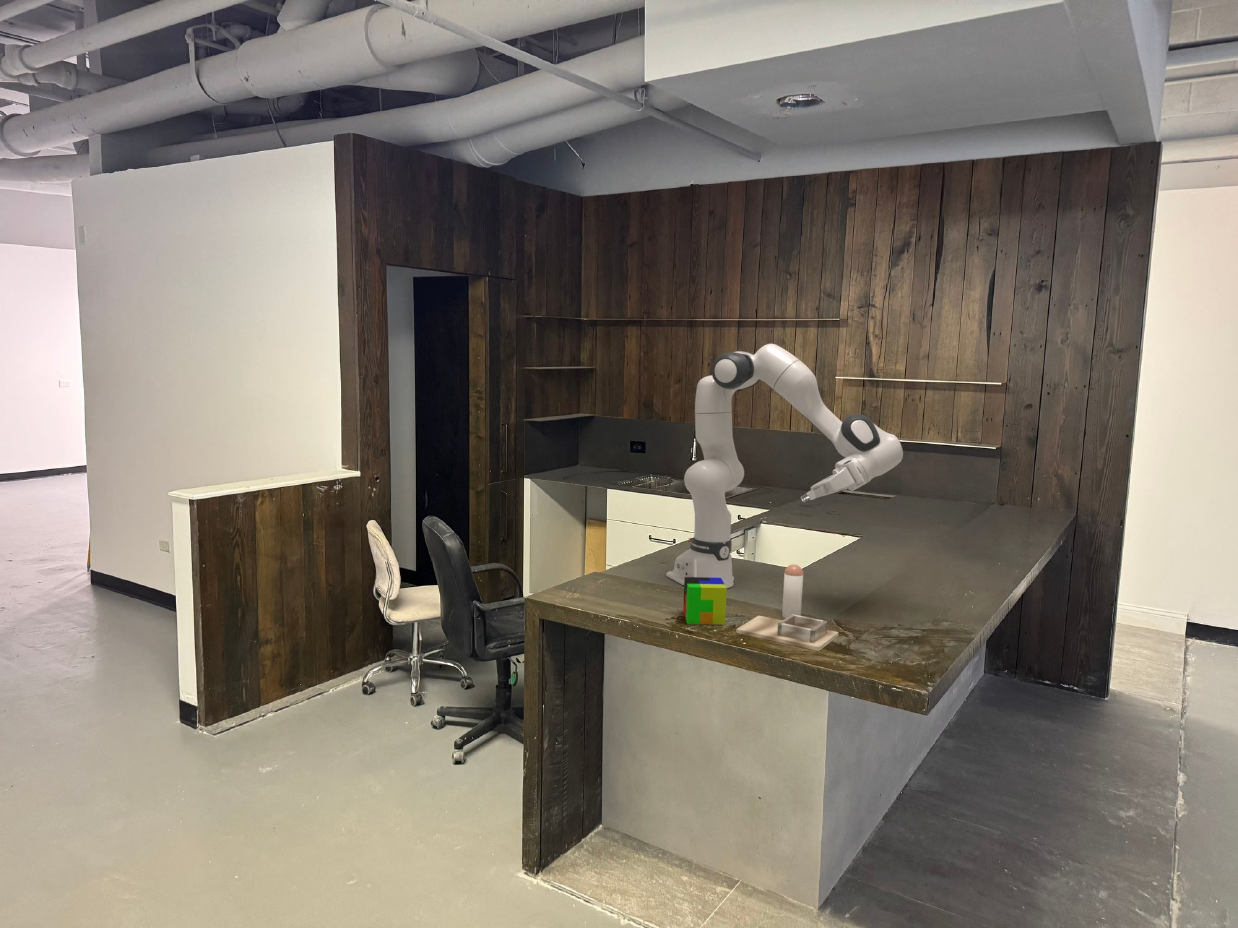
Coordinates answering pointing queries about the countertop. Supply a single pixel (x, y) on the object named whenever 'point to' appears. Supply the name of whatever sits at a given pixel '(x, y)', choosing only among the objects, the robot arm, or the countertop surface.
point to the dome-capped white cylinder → (792, 591)
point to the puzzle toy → (704, 600)
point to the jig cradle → (790, 631)
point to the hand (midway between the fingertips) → (805, 498)
